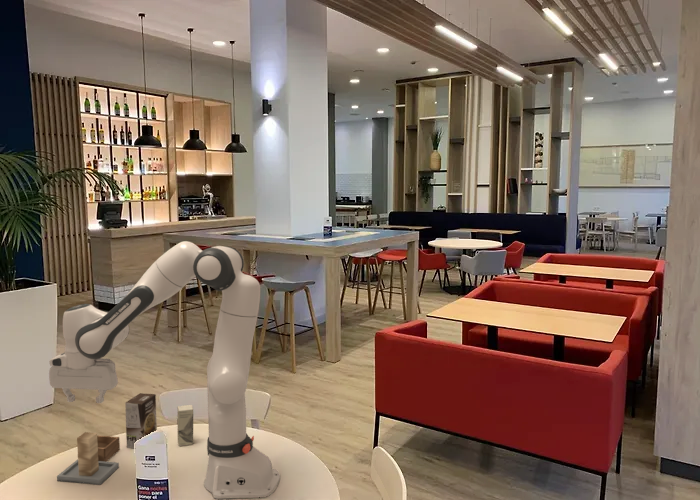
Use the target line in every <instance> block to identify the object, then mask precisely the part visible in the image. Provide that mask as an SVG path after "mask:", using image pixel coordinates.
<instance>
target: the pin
mask: <svg viewBox="0 0 700 500" xmlns="http://www.w3.org/2000/svg"><path fill="white" fill-rule="evenodd" d="M97 435H98V433H97V432H89V431H87V432H86V431H85V432H83V433H82V434H80V435H79V436H78V437H76V446H77V448H76V449H77V459H78V467H79V475H81V476H92V475H93V474H94V473H95V472H97V471H98V470H99V463H98V443H97Z"/></svg>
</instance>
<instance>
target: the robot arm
mask: <svg viewBox="0 0 700 500" xmlns="http://www.w3.org/2000/svg"><path fill="white" fill-rule="evenodd" d="M244 262H245V261H244V257H243V255H242V253H241V252H240V251H239V250H237V249H236V248H234V247H232V246H222V245H217V246H212V247H208V248H205V249H203V250H202V248H200V247H199V246H198V245H197V244H195V243H193V242H192V241H189V240H188V241H187V240H185V241H180V242H179V243H177V244H176V245H173V246H172V247H171V248H169V249H168V250H167V251H165V252H164V253H163V254H161V256H159V257H158V258H157V259H156V260H155V261H154V262H152V264H151V265H150V266H149V268H148V269H146V271H145V272H144V273H143V275H142V276H141V277H140V278H139V280H138V281H137V282H136V283H135V284H134V286H133V287H132V288H131V290H130V291H129V292H128V293H127V294H126V296H125V297H123V298H122V299H121V300H120V301H119V302H117V304H116V305H115V306H114V307H113V308H111V309H110V310H109V311H108V312H107V311H103V310H101V309H98V308H97V307H95V306H94V305H92V304H90V303H81V304H78V305H75V306H71V307H70V308H68V309H66V310H65V311H64V312H63V316H62V337H63V340H64V341H65V342H64V343H65V345H64V352H63V353H60V354H58V355H55V356H54V357H52V358H50V359H49V365H50V368H49V370H48V371H49V373H48V377H49V378H48V379H49V385H50V386H51V387H52V388H53V389H62V392H63V394H64V395H65V396H66V401H67V403H71V402H74V401H75V400H76V395H75V394H74V393H72V391H71V389H72V390H73V389H74V390H77V389H78V390H98V393H99V395H98V396H96V397H95V402H96V403H97V404H102V403H103V402H104V401H105V399H104V398H105V397H104V396H105V394H106V393H107V391H111V390H113V389H114V388H116V386H117V385H118V383H119V381H118V374H117V371H116V363H115V362H114V361H113V360H111V358H104V357H106V355H107V354H108V353H110V352H111V351H112V350H113V349H115V348H116V347H117V346H118V345H120V344H121V343H122V342H124V341H125V340H126V339H127V338H128V336H129V333H130V324H131V323H132V322H133V321H134V320H135V319H136V318H137V317H139V316H140V315H141V314H143V313H145V312H146V311H148V310H149V309H151V308H153V307H155V306H157V305H159V304H162V303H163V302H165V301H167V300H168V299H170V298H171V297H173V296H175V295H176V294H177V293H178V292H180V291H181V290H183V288H184V287H185V286H186V285H187V284H188V283H189V282H191V280H193V279H194V278H196V279H197V280H198V281H199V282H201V283H202V284H204V285H206V286H208V287H211V288H213V289H214V290H215V291H217V292H221V293H222V298H221V303H220V307H219V308H220V309H219V313H218V318H217V322H216V323H217V324H216V327H215V333H214V341H213V349H212V356H211V357H210V359H209V360H208V362H207V365H206V374H207V375H206V379H207V380H206V381H207V383H206V384H207V385H206V386H207V411H208V412H207V413H208V421H207V423H208V437H207V440H206V441H207V443H206V451H207V456H208V461H207V469H206V475H205V478H204V481H203V485H204V488H205V489H206V490H207V491H209V492H210V493H211V494H212V496H213V498H214V499H215V500H217V499H219V500H220V499H249V498H250V499H254V498H259V497H260V498H266V496H267V497H268V496H270V495H271V494H272V493H274V491H275V490H276V488H278V486H279V483H280V479H281V478H280V477H281V476H280V472H279V470H278V469H275V468H273V466H272V462H271V459H270V457H269V456H268V455H266V454H265V453H263V452H262V451H260V450H259V449H257V448H256V447H255V446H254V440H255V436H254V435H252V437H250V436H249V435H248V433H247V408H246V391H247V387H248V381H249V380H248V379H249V375H250V366H251V359H252V349H253V341H254V334H255V330H256V326H257V320H258V316H259V311H260V301H261V285H260V282H259V281H258V279H257V278H255V277H254V276H252V275H250V274H249V275H248V274H246V273H243V269H244V265H245V263H244Z"/></svg>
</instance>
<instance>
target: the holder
mask: <svg viewBox="0 0 700 500" xmlns="http://www.w3.org/2000/svg"><path fill="white" fill-rule="evenodd" d="M97 443H98V461H105V462H109V460H110V459H111V458H112V457H114V456H115V455H116V453H117V454H118V452H119V451H120V450H121V446H120V443H121V442H120V436H110V435H99V434H97Z"/></svg>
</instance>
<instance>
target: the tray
mask: <svg viewBox="0 0 700 500" xmlns="http://www.w3.org/2000/svg"><path fill="white" fill-rule="evenodd" d="M98 463H99V470H98V471H97V472H95V473H94V474H93V475H92V476H81V475H79V467H78V458H77V459H76V460H75V461H74V462H72V463H71V464H70V465H68V467H66V468H65V469H63V471H61V472H60V473H58V474H57V476H56V481H57V482H63V483H73V484H74V483H77V484H85V485H86V484H87V485H97V486H98V485H99V486H101V485H102V484H103V483H104V482H105V481H107V479H108V478H109V477H111V476H112V475H113V474H114V473H115V472H116V471H117V470H118V469H119V468H120V464H119V462H115V461H107V462H105V461H98Z"/></svg>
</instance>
